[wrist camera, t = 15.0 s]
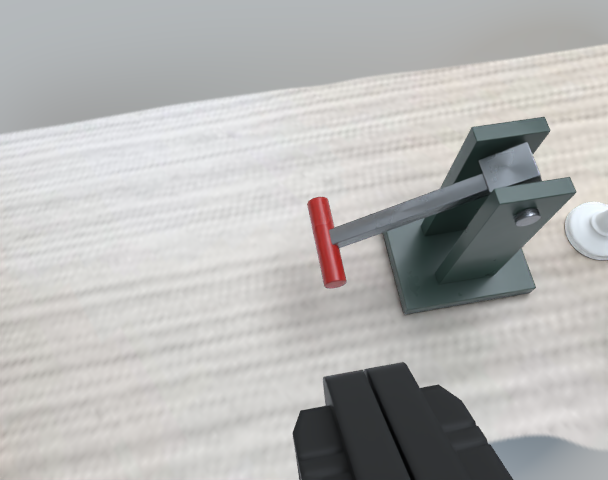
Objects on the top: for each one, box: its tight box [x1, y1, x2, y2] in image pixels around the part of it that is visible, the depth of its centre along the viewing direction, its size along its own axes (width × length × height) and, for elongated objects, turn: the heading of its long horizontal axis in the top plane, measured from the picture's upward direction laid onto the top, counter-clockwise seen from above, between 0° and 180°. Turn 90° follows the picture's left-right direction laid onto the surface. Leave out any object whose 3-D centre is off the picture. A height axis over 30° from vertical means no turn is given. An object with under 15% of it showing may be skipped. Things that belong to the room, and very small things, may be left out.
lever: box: [307, 142, 542, 288], centre depth 35 cm, size 14×6×2 cm, turn 101°
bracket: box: [383, 117, 576, 314], centre depth 38 cm, size 10×8×14 cm
